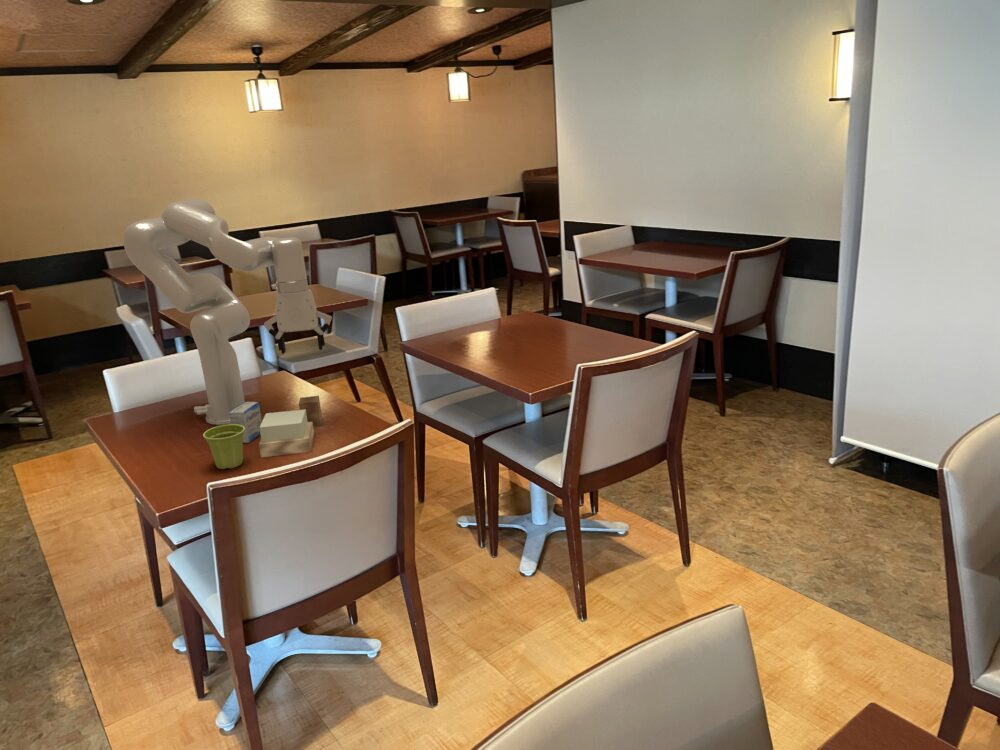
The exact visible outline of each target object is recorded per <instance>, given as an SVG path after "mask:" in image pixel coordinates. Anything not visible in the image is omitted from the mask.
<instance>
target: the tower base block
mask: <svg viewBox="0 0 1000 750" xmlns="http://www.w3.org/2000/svg"><path fill="white" fill-rule="evenodd" d="M314 437H315V429H314V427H313V422H308V425H307V428H306V431H305V435H304V438H300V439H291V440H281V441H272V442H262V440H261V439H260V441H259V442H258V443H259V444H258V448H259V453H260V458H262V459H263V458H269V457H277V456H285V455H293V454H303V453H311V452H312V447H313V442H314Z"/></svg>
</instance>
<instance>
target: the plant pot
mask: <svg viewBox="0 0 1000 750" xmlns="http://www.w3.org/2000/svg"><path fill="white" fill-rule="evenodd" d="M244 431H245V427H244V426H242V425H238V424H224V425H216V426H215V427H214V426H213V427H211V428H209V429H207V430H206V431H205V432H204V433H203V434H202V436H203V438H204V439H205V440H206V443H207V444H208V446H209V449H210V452H211V454H212V457H213V460H214V463H215V466H216V468H217V469H220V470H226V469H234V468H237V467H239V466H241V465H242V464H243V462H244V452H243V450H244V448H243V447H244V445H243V444H244V443H243V432H244Z"/></svg>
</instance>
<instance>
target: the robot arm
mask: <svg viewBox="0 0 1000 750" xmlns="http://www.w3.org/2000/svg"><path fill="white" fill-rule="evenodd" d="M161 213H162V214H161V216H160V217H152V218H145V219H141V220H137V221H135V222H133V223H132V224H129V225H128V226H127V227H126V228H125V230H124V233H123V235H122V236H123V248H124V250H125V253H126V255H127V257H128V259H129V260H130V261H131V263H132V264H133V265H134V266H135V267H136V268H137V269H138V270H139V271H140V272H141V273H142V274H144V275H145V276H146V278H147V279H149V280H150V282H152V284H153V285H154V286H155V287H156V288H157V289H158V291H160V293H161V294H162V295H163V296H164V297H165V299H167V301H169V303H170V304H171V305H172V306H173V307H174V308H175V309H176V310H177V311H179V312H180V313H182V314H191V313H195V312H197V311H199V312H197V313H196V314H195V315H194V316H193V317H192V319H191V320H190V324H189V325H190V326H189V328H190V329H189V330H190V333H191V335H192V338H193V341H194V344H195V345H196V350H197V351H198V356H199V359H200V364H201V365H200V366H201V370H202V374H203V380H204V381H203V382H204V384H205V390H206V391H205V392H206V395H207V401H208V403H207V404H205V405H198V406H193V409H194V414H196V415H197V416H199V415H206V416H205V420H206V423H208V424H210V425H215V426H221V425H228V424H231V423H230V418H229V412H231V411H232V410H234V409H235V408H237V407H238V406H240V405H241V404H243V403H244V402H246V400H245V394H244V388H243V383H242V378H241V377H242V376H241V372H240V366H239V360H238V355H237V353H236V351H235V349H234V347H233V345H231V343H230V341H229V339H231V338H233V337H235V336H238V335H240V334H242V333H244V332H245V331H246V330H247V329H248V328H249V327H250V324H251V317H250V314H249V311H248V309H247V307H246V306H245V305H244V304H243V302H241V300H240V299H239V298H238V297H237V295H235V293H233V291H232V290H231V289H230V287H228V285H226V284H225V282H224V281H223V280H221V278H219V277H218V276H216V275H214V274H212V273H207V272H204V273H198V274H194V275H191V274H189V273H188V272H187V271H186V270H185V269H184V268H183V267H182V266H181V264H179V262H177V261H176V260H175V259H174V258H172V257H170V256H168V255H167V254H165V253H163V252H161V250H163V249H164V250H165V249H170V248H173V247H174V248H175V247H178V246H181V245H183V244H186V243H188V242H189V241H193V242H195V243H197V244H200V245H202V246H204V247H206V248H208V249H209V251H210V253H211V255H213V256H214V258H215V259H217V261H219V262H220V263H223V264H224V265H227V266H229V267H232V268H234V269H237V270H238V271H239V270H240V271H242V272H255V271H258V270H261V269H264V268H269V267H271V266H272V267H273V266H274V271H275V279H276V281H275V283H272V284H271V290H276V291H277V293H275V296H274V297H275V298H274V301H275V303H274V305H275V315H274V316H273V317H271V318H269V319H268V320H266V321H264V323H263V326H264V328H265V329H266V331H267V332H268V333H269V334H270V335H271V336H272V337H274V338H275V339H276V341H277V345H278V346H277V347H278V351H281V355H284V354H285V353H286V351H287V348H286V343H285V337H284V336H283V335H284V333H293V332H295V333H296V332H304V331H305V332H306V331H312V330H314V331H315V332H316V333H317V337H316V338H317V345H318V350H320V351H323V348H324V347H325V336H324V333H325V332H326V331H327V330H328V329H329V327H330V324H331V321H332V319H333V317H332V315H329V314H327V313H324V312H322V311H319V310H317V305H316V302H315V301H316V300H315V298H314V294H313V292H312V290H311V289H309V285H308V276H307V271H306V270H307V269H306V264H305V255H304V251H303V243H302V241H301V239H299V238H298V237H293V236H292V237H291V236H290V237H289V236H288V237H282V238H281V237H275V236H274V237H273V236H264V237H258V238H254V239H248V240H245V241H243V240H240V239H237V238H235V237H233V236H231V235H229V229H230V228H229V224H228V222H227V220H225V219H224V218H223V217H221V216H218V215H217V214H216V211H215V209H214V207H213V206H212V205H211V204H210V203H209V202H208V201H206V200H204V199H200V198H195V199H194V198H193V199H187V200H179V201H174V202H171V203H169V204H168V205H166V206H165V207H164V209H163V211H162V212H161ZM319 318H320V319H322V320H325V322H324V324H323V325H322V326H321V325H320V324H319ZM274 323H277V324H276V325H277V329H278V331H277V330H276V329H275V328H274V327H273V326H272V325H273V324H274Z"/></svg>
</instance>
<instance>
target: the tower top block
mask: <svg viewBox="0 0 1000 750" xmlns="http://www.w3.org/2000/svg"><path fill="white" fill-rule="evenodd" d="M307 425H308V421H307V415H306V409H304V410H300V409H298V410H297V409H295V410H285V411H278V412H277V411H276V412H266V413H265V414H264V416H263V418H262V423H261V425H260V427H259V428H260V440H262V442H272V441H281V440H291V439H300V438H304V435H305V431H306V428H307Z"/></svg>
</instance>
